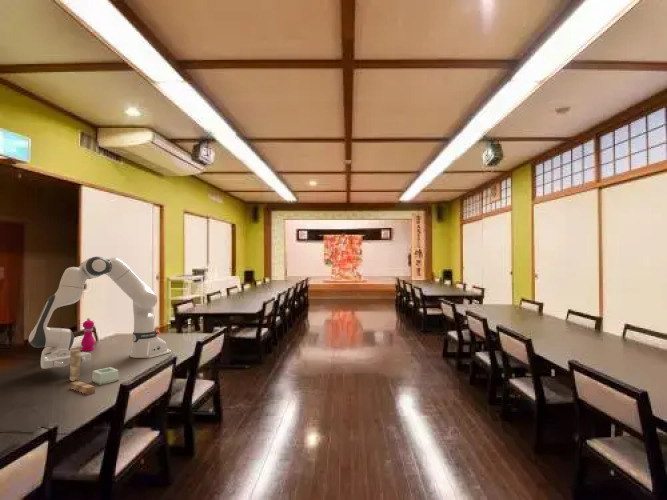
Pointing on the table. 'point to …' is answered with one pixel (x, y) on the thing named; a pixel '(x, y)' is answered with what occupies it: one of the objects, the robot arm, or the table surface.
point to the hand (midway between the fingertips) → (73, 362)
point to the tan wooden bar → (83, 387)
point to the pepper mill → (88, 336)
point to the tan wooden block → (75, 365)
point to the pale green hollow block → (105, 376)
